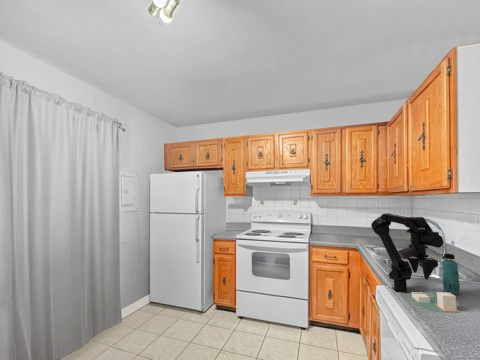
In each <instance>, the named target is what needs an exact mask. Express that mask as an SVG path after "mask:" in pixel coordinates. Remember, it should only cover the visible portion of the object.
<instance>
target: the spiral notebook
mask: <svg viewBox="0 0 480 360" xmlns="http://www.w3.org/2000/svg"><path fill="white" fill-rule="evenodd" d="M411 296H412V297H413V298H414V299H415V300H417V301H418V302H426V303H431V301H430V297H428V295H427V294H426V293H424V292H420V291H419V292H416V291H415V292H414V291H412V292H411Z"/></svg>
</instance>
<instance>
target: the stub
mask: <svg viewBox="0 0 480 360" xmlns="http://www.w3.org/2000/svg"><path fill="white" fill-rule="evenodd" d="M436 297H437V302H438V306H439V307H441V308H442V309H443V310H458V309H457V299H456V297H457V296H456V295H455V294H454V293H450V292H447V291H436Z"/></svg>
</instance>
